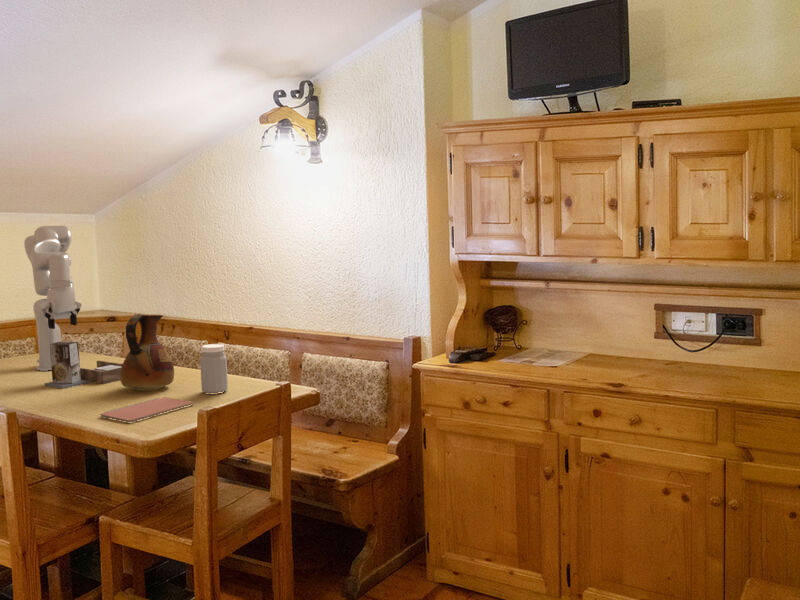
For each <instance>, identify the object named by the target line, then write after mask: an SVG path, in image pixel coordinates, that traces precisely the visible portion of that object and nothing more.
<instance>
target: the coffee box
mask: <svg viewBox="0 0 800 600" xmlns="http://www.w3.org/2000/svg"><path fill="white" fill-rule="evenodd" d="M50 356H51V367H52V370H51V378H52V382H53V383H75V382H78V381H81V374H80V368H81V363H80V350H79V341H61V342H56V343H53V344H50Z"/></svg>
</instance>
